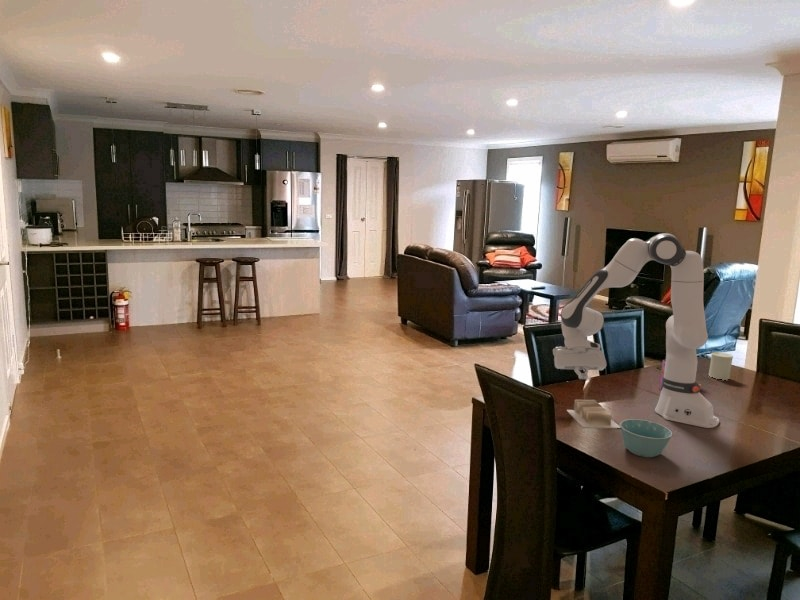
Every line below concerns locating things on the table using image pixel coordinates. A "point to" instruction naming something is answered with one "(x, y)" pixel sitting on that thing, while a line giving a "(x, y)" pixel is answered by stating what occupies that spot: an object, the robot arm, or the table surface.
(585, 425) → the mat
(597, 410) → the birch block
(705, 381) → the table surface
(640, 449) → the bowl
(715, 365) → the can
